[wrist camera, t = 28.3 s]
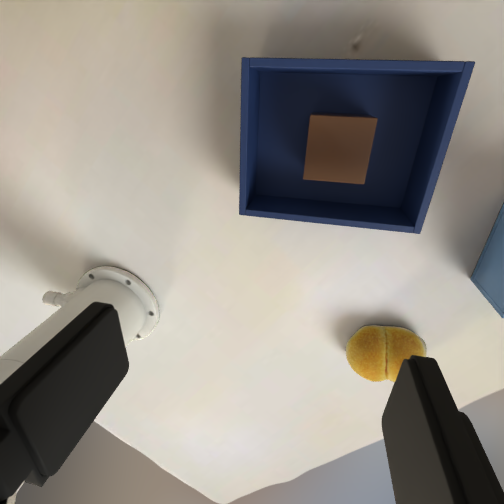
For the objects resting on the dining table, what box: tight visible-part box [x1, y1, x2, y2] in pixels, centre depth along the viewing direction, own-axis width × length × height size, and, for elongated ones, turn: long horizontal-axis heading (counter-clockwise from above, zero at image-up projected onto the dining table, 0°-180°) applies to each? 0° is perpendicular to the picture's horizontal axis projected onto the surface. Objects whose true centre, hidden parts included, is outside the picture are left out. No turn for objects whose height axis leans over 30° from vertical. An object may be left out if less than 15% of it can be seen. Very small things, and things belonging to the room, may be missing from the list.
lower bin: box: [239, 57, 475, 234], centre depth 26 cm, size 16×12×6 cm
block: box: [303, 112, 378, 184], centre depth 26 cm, size 5×5×5 cm
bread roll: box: [346, 325, 426, 382], centre depth 37 cm, size 8×9×4 cm
